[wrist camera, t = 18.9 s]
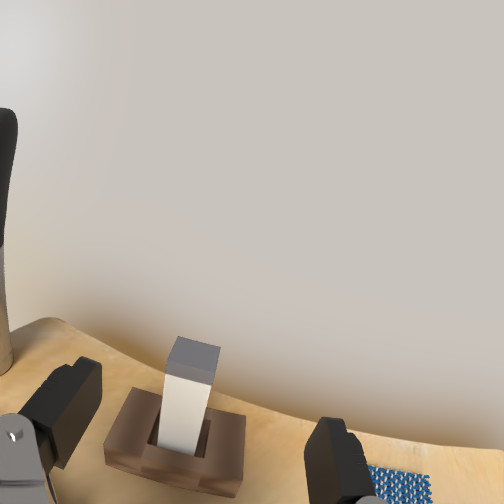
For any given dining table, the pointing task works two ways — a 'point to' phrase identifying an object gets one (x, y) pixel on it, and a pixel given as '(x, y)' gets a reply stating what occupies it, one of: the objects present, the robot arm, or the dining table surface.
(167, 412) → the grey-capped white post
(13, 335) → the dining table surface
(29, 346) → the dining table surface
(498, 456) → the dining table surface
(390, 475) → the woven mat
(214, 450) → the brown square socket block
